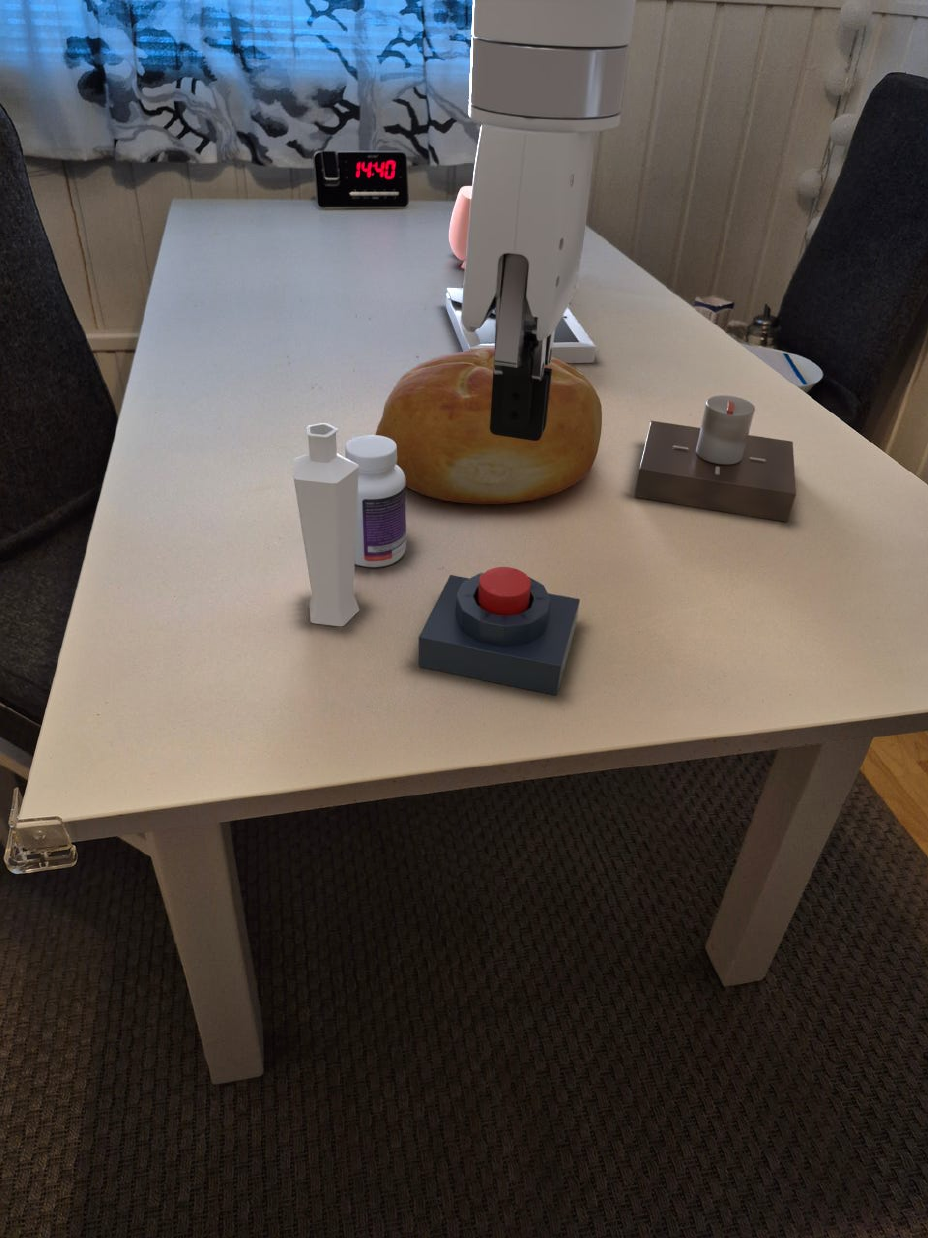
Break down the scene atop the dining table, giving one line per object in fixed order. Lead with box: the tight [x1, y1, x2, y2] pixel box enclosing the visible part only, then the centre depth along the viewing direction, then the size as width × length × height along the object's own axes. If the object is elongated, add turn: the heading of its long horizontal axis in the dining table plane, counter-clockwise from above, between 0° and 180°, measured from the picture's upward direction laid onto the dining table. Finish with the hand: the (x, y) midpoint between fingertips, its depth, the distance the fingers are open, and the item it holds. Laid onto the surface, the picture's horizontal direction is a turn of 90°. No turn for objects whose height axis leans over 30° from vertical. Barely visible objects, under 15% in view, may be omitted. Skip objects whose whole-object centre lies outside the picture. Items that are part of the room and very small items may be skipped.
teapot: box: [448, 185, 472, 270], centre depth 139 cm, size 20×12×12 cm, turn 6°
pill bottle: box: [344, 434, 407, 568], centre depth 71 cm, size 5×5×10 cm
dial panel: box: [633, 420, 797, 523], centre depth 85 cm, size 14×11×3 cm
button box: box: [418, 572, 581, 696], centre depth 63 cm, size 10×8×4 cm
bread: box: [374, 347, 603, 505], centre depth 84 cm, size 23×23×10 cm
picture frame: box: [445, 287, 597, 364], centre depth 115 cm, size 16×3×21 cm
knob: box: [696, 395, 756, 465], centre depth 82 cm, size 4×4×5 cm
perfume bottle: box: [292, 422, 360, 627], centre depth 62 cm, size 5×4×15 cm
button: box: [478, 566, 531, 616], centre depth 61 cm, size 4×4×2 cm
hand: (517, 431), depth 54 cm, fingers closed
